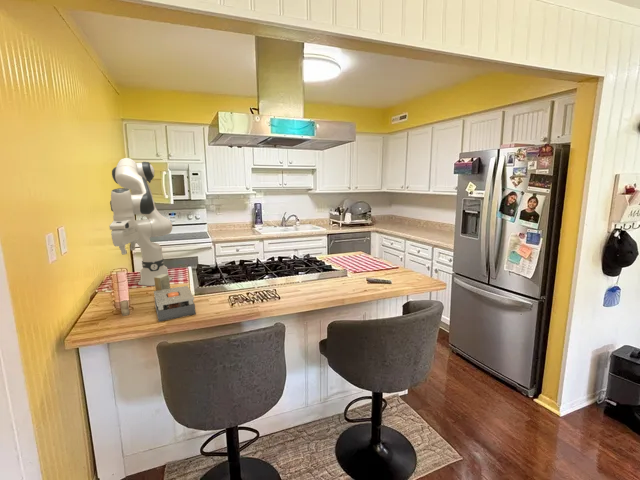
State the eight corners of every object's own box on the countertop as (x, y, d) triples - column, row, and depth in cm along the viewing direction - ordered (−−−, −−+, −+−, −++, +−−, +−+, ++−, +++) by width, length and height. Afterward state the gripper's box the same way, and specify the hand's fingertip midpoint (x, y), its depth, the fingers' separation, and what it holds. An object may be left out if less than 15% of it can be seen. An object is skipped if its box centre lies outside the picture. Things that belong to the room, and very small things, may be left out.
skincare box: (165, 294, 188) (163, 273, 185) (171, 295, 186) (169, 274, 184) (155, 298, 182) (153, 276, 179) (162, 299, 180) (159, 277, 178)
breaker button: (168, 300, 167) (167, 293, 166) (178, 298, 169) (177, 291, 168) (169, 304, 163) (168, 296, 162) (179, 302, 165) (179, 294, 164)
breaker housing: (155, 306, 171) (153, 291, 170) (188, 300, 179) (187, 285, 177) (158, 321, 154) (156, 304, 153) (195, 314, 162) (194, 297, 160)
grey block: (122, 313, 163) (120, 301, 162) (129, 312, 165) (127, 299, 164) (121, 316, 161) (120, 303, 159) (129, 314, 162) (127, 302, 161)
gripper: (127, 221, 170) (131, 248, 172) (107, 226, 150) (111, 257, 152) (140, 220, 170) (144, 247, 173) (122, 225, 150) (126, 256, 153)
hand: (128, 252), depth 162 cm, fingers open, 8 cm apart
